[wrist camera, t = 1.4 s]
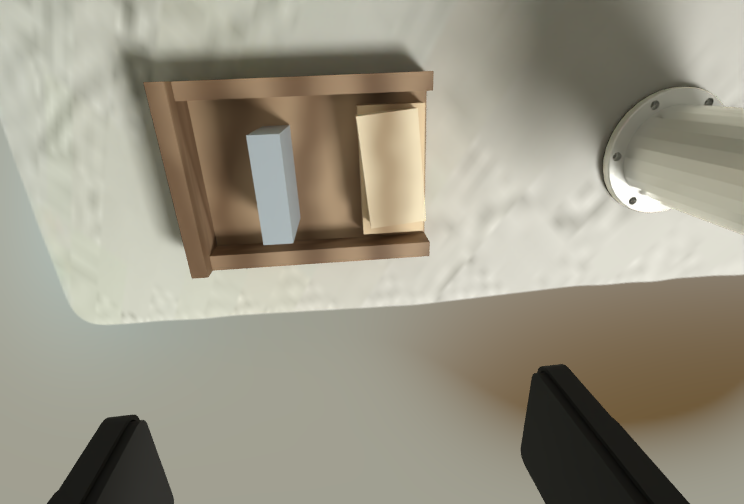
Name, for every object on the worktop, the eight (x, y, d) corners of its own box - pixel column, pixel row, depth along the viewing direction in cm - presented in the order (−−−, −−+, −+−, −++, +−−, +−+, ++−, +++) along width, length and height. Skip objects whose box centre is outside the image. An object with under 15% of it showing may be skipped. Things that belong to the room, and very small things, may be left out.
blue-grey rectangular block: (289, 124, 36) (279, 134, 30) (300, 217, 40) (293, 243, 33) (262, 126, 36) (246, 135, 30) (275, 219, 40) (263, 245, 33)
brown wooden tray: (424, 72, 36) (437, 70, 32) (422, 242, 43) (432, 262, 38) (168, 82, 35) (143, 82, 30) (207, 256, 42) (191, 278, 37)
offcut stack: (420, 101, 36) (430, 103, 33) (419, 223, 41) (427, 237, 38) (353, 104, 36) (355, 107, 32) (360, 227, 41) (362, 241, 37)
